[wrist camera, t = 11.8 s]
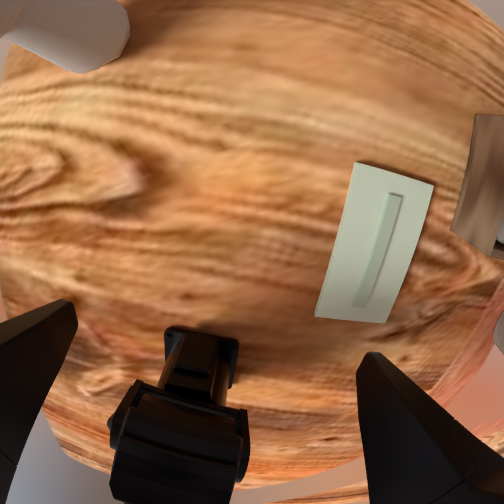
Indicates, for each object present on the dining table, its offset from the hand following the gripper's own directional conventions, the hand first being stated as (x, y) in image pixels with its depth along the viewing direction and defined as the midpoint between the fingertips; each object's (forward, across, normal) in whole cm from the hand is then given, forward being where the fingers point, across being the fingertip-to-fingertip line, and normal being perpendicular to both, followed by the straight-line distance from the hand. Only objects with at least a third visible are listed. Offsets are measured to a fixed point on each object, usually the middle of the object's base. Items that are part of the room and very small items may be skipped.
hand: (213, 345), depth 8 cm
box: (+13, -19, -7) cm, 24 cm away
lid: (+14, -10, +1) cm, 17 cm away
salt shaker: (+13, +12, -12) cm, 22 cm away
